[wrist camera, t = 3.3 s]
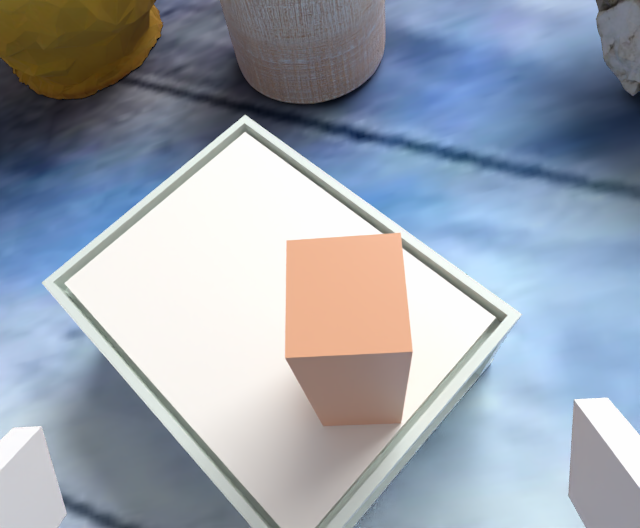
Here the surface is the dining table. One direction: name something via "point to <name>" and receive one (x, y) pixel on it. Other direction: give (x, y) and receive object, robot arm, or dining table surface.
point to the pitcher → (76, 42)
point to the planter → (306, 45)
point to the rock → (621, 40)
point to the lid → (279, 326)
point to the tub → (262, 523)
